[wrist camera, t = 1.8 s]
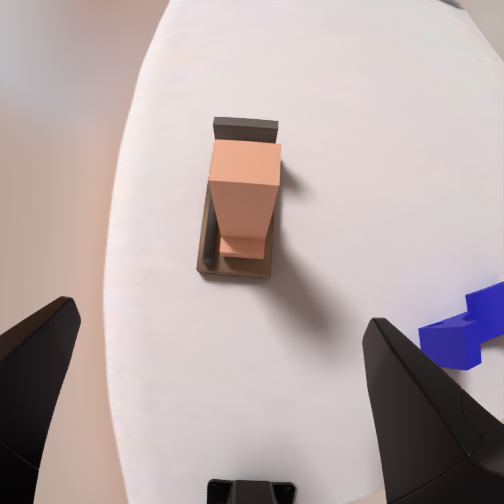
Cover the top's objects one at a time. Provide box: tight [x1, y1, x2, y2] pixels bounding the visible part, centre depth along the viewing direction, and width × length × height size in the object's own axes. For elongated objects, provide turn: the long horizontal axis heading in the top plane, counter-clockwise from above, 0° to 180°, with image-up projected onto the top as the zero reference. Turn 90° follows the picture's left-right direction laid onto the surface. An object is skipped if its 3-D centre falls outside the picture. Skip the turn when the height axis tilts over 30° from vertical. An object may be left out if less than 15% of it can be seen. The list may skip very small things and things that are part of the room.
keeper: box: [208, 139, 281, 259], centre depth 16 cm, size 4×3×9 cm
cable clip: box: [418, 282, 504, 370], centre depth 18 cm, size 12×4×6 cm, turn 99°
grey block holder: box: [196, 117, 278, 278], centre depth 20 cm, size 10×5×4 cm, turn 176°
